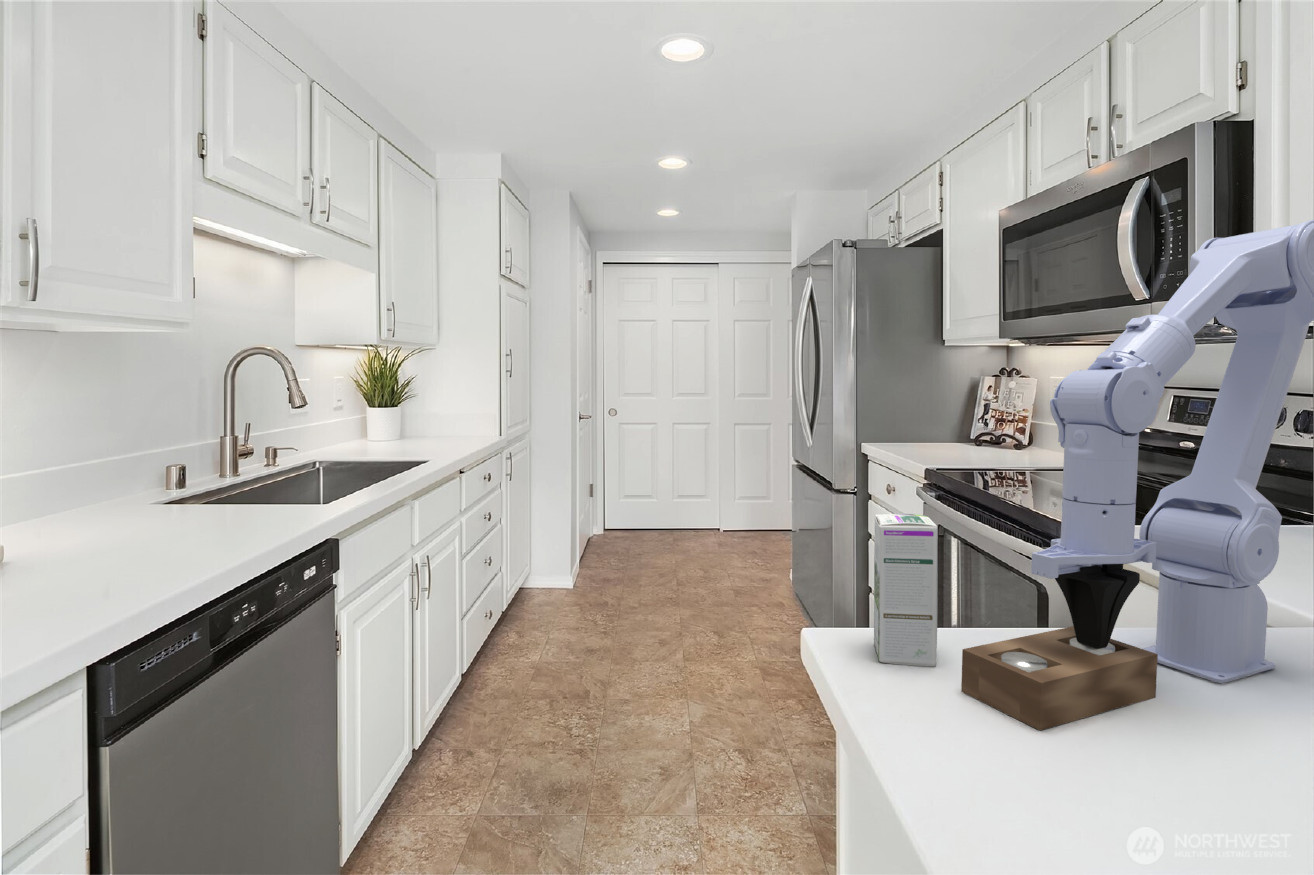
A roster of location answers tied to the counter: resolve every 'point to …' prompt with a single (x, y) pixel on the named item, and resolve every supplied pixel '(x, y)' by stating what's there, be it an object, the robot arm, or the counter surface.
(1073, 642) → the silver short cylinder
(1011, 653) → the outer pin
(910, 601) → the syrup box
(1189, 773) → the counter surface
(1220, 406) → the robot arm
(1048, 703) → the walnut block
